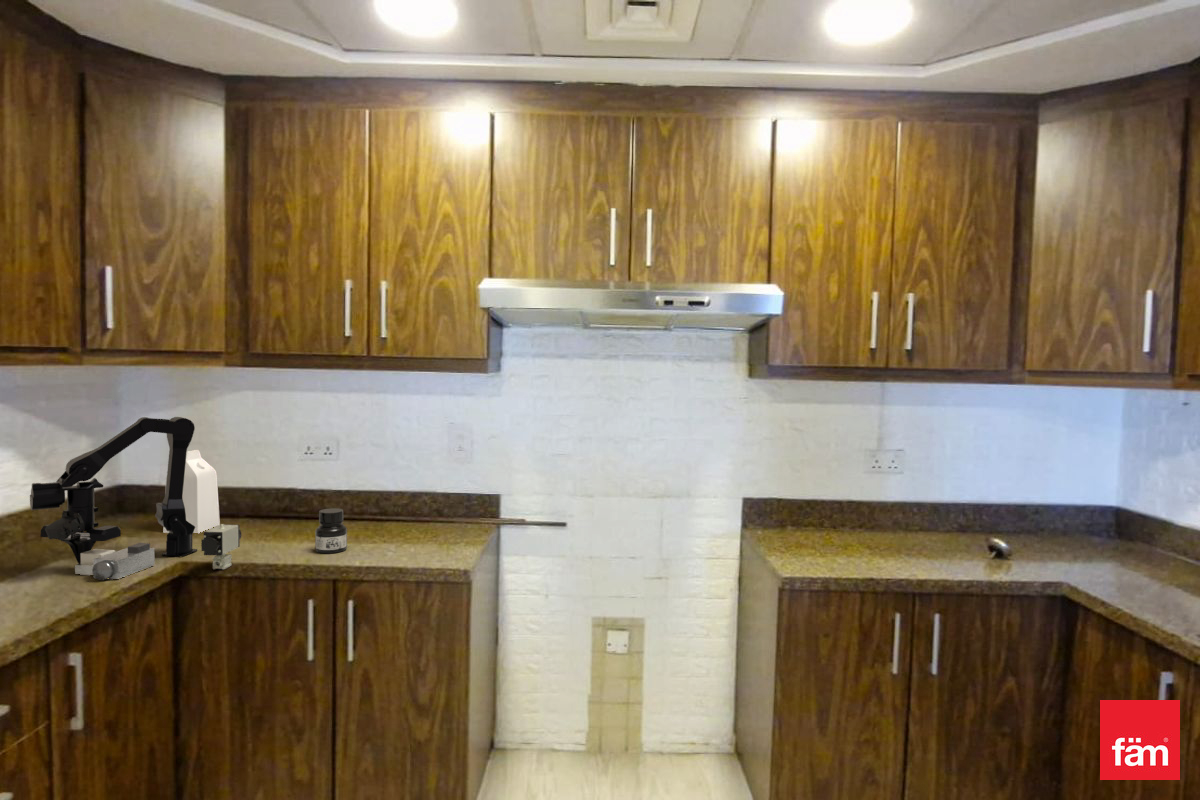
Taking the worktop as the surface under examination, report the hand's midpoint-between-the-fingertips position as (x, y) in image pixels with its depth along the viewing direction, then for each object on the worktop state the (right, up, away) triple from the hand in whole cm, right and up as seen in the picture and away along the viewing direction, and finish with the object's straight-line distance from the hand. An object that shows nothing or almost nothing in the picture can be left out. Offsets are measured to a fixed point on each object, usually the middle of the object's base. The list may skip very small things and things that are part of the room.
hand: (81, 563), depth 181 cm
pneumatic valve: (+35, -2, +4) cm, 35 cm away
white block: (+5, -2, -1) cm, 5 cm away
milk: (+2, 0, +45) cm, 45 cm away
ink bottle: (+57, -2, +24) cm, 62 cm away
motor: (+9, -2, -2) cm, 9 cm away
